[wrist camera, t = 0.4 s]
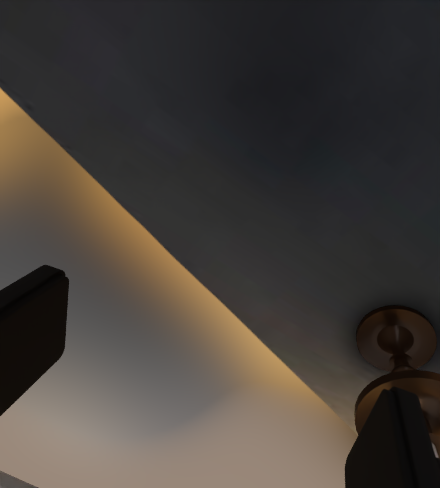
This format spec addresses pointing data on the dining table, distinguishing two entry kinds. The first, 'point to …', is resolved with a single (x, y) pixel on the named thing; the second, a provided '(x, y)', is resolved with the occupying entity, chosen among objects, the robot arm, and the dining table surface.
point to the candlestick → (400, 362)
